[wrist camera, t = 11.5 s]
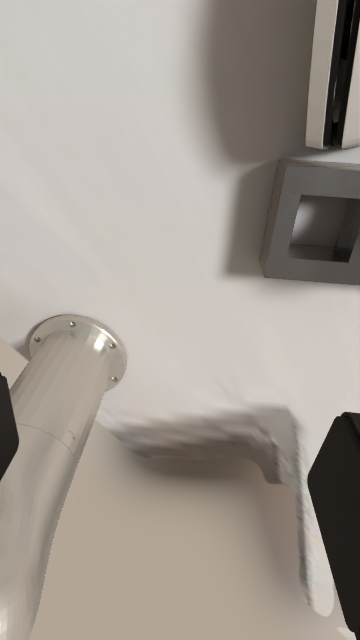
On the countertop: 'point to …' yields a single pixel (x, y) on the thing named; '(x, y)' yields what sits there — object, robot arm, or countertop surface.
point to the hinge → (334, 78)
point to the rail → (290, 183)
